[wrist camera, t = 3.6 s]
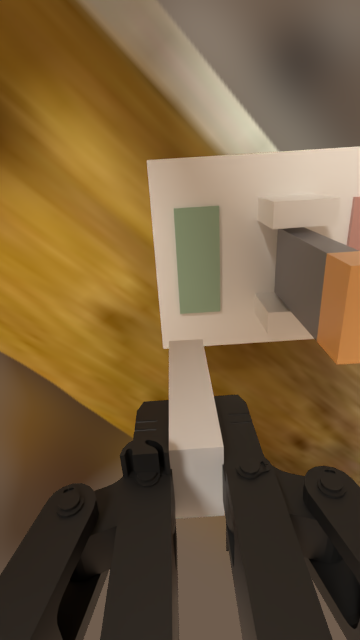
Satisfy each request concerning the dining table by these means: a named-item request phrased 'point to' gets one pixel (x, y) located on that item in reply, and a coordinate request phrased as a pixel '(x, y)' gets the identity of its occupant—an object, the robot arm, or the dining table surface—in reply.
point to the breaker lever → (321, 289)
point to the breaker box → (242, 236)
